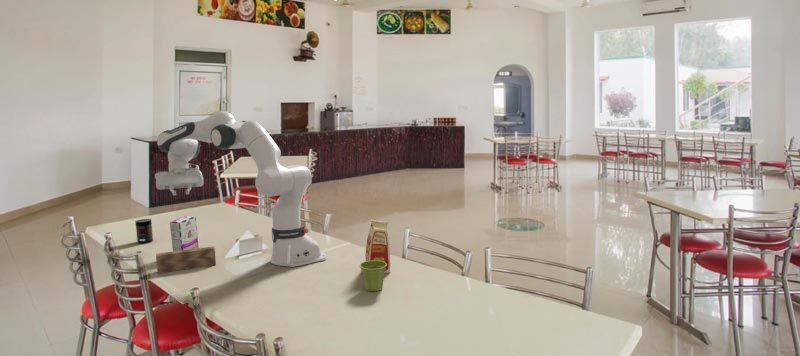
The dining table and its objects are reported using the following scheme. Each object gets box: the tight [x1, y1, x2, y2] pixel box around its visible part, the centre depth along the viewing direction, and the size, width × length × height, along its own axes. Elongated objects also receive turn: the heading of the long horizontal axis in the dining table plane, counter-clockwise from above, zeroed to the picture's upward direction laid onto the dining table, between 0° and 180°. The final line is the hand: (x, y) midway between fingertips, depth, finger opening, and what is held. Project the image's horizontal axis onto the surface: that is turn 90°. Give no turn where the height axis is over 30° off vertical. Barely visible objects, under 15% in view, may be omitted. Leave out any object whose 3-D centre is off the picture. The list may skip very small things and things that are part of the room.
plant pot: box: [358, 260, 387, 292], centre depth 166 cm, size 9×9×9 cm
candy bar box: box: [169, 215, 200, 252], centre depth 204 cm, size 11×5×16 cm, turn 168°
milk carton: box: [365, 219, 391, 274], centre depth 184 cm, size 9×9×20 cm
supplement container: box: [135, 218, 154, 244], centre depth 226 cm, size 7×7×10 cm
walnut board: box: [155, 246, 217, 274], centre depth 189 cm, size 21×3×7 cm, turn 115°
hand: (181, 194), depth 220 cm, fingers open, 4 cm apart
